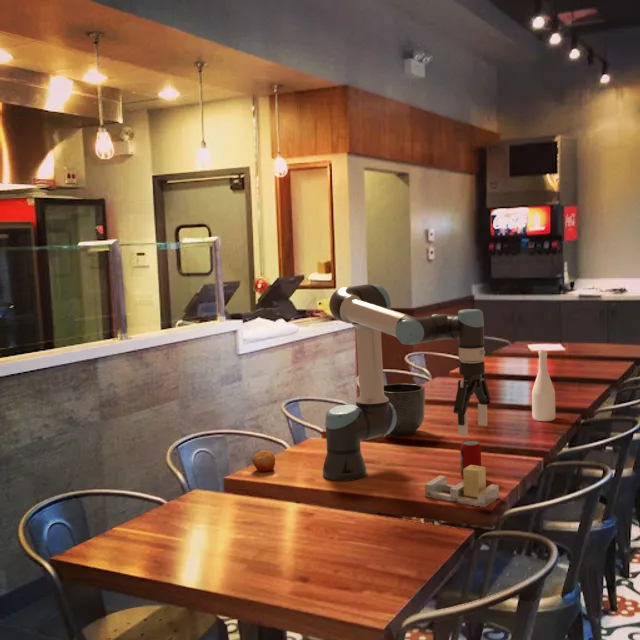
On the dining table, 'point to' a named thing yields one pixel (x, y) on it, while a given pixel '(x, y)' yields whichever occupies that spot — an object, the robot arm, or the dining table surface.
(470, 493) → the brass block
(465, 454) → the beverage can
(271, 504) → the dining table surface
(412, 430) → the planter
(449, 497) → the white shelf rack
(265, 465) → the fruit
